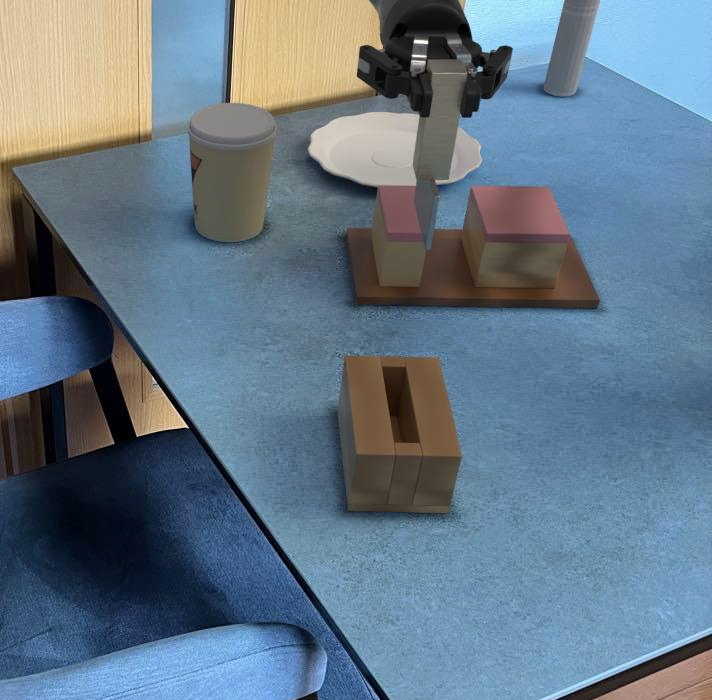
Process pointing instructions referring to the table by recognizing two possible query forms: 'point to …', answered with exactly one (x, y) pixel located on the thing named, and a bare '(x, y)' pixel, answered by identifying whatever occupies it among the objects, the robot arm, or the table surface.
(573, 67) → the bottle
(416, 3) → the robot arm
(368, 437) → the knife block
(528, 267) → the cake
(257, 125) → the coffee cup
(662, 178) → the table surface
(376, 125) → the plate
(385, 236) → the cake slice
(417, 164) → the knife
